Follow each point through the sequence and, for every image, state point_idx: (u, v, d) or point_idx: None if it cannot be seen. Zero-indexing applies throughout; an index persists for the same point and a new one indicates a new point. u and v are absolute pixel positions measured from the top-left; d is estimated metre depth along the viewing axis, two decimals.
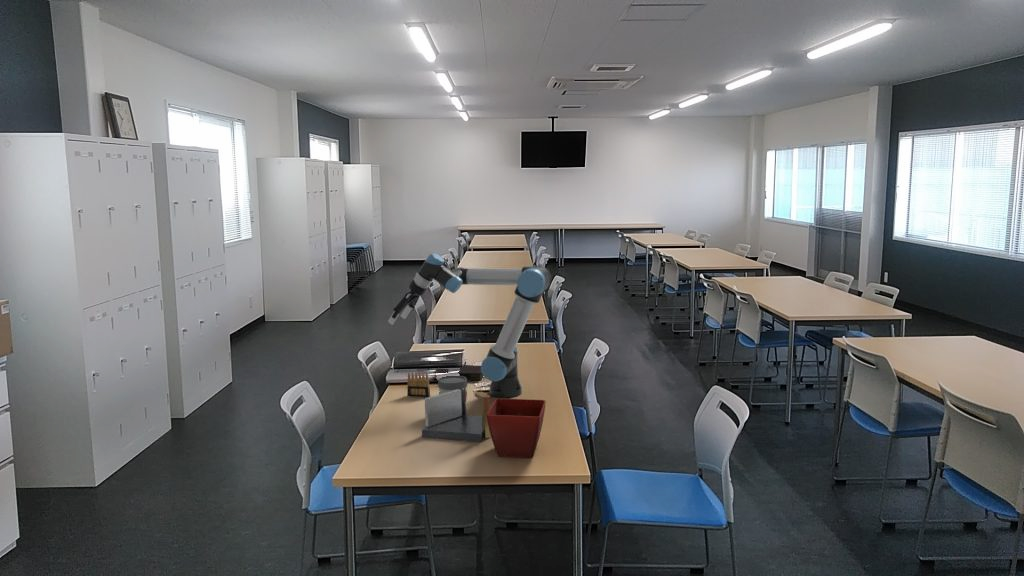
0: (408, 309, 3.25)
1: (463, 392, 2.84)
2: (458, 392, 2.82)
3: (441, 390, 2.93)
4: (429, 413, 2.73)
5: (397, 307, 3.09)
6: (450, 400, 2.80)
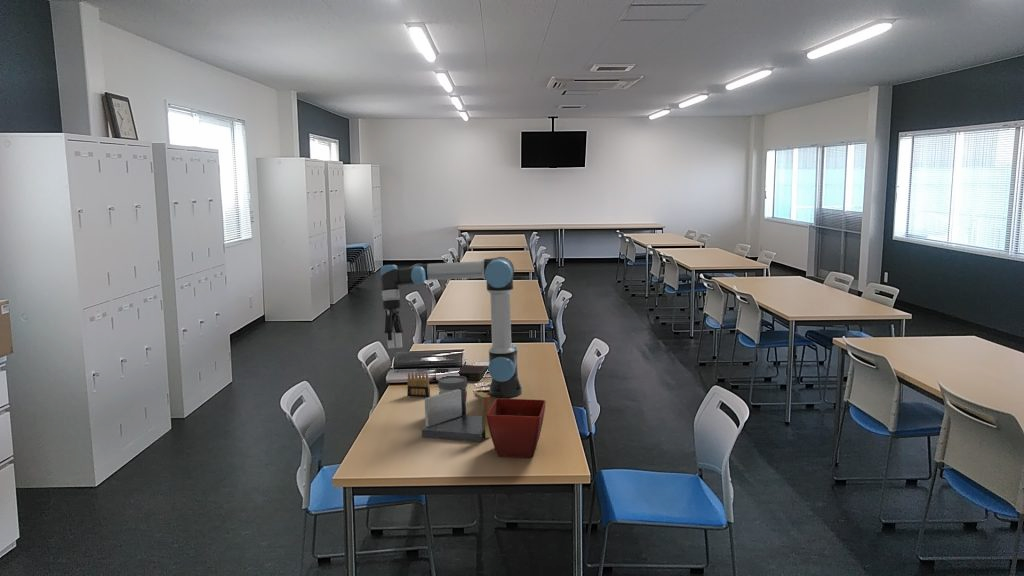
0: (398, 336, 3.13)
1: (463, 392, 2.84)
2: (458, 392, 2.82)
3: (441, 390, 2.93)
4: (429, 413, 2.73)
5: (386, 326, 2.97)
6: (450, 400, 2.80)
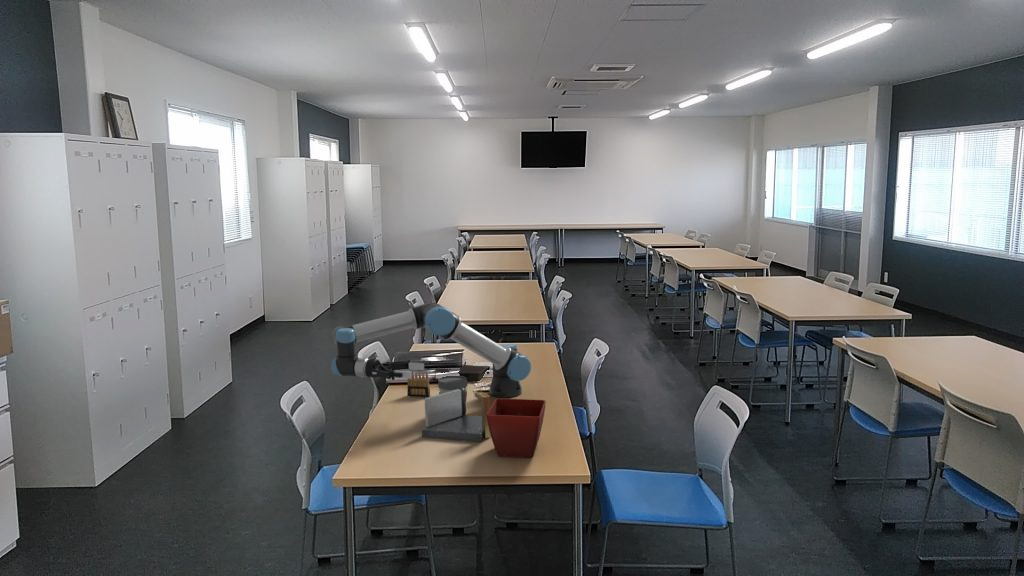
0: (411, 365, 2.84)
1: (463, 392, 2.84)
2: (458, 392, 2.82)
3: (441, 390, 2.93)
4: (429, 413, 2.73)
5: (385, 376, 2.70)
6: (450, 400, 2.80)
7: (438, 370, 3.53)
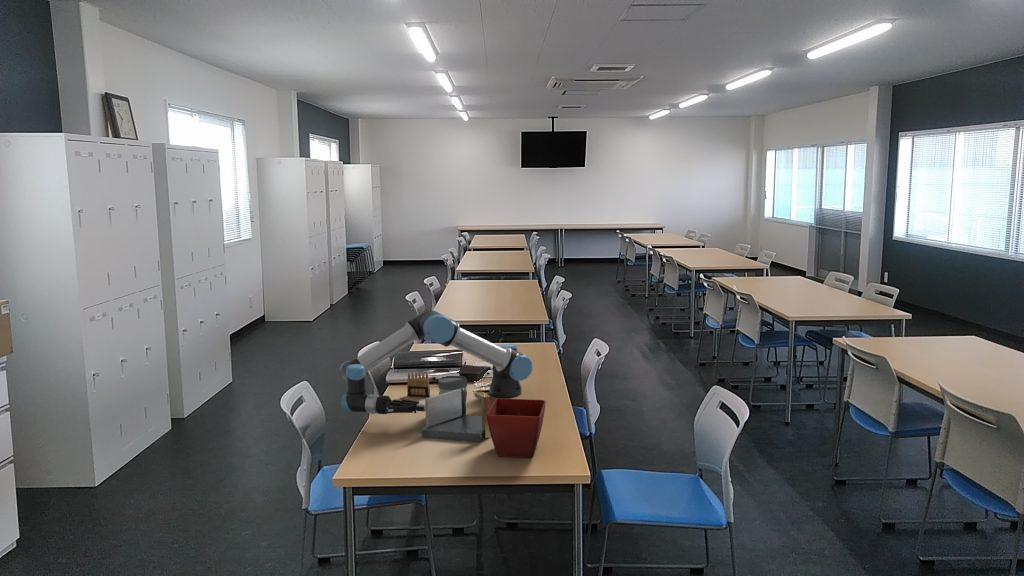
0: None
1: (463, 392, 2.84)
2: (458, 392, 2.82)
3: (441, 390, 2.93)
4: (429, 414, 2.72)
5: (407, 411, 2.75)
6: (450, 400, 2.80)
7: (438, 370, 3.54)
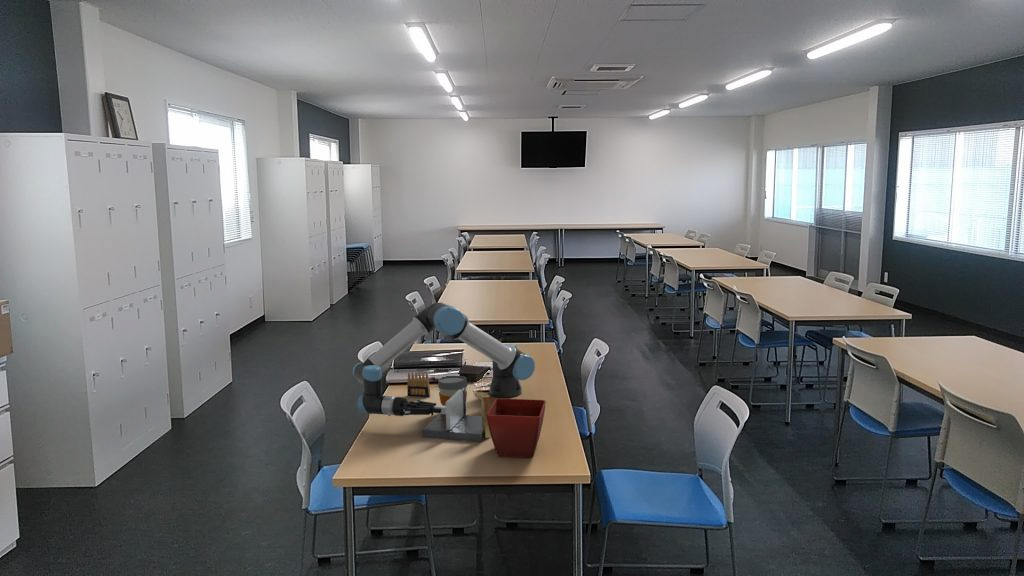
0: None
1: (464, 392, 2.84)
2: (462, 392, 2.82)
3: (441, 390, 2.93)
4: (450, 417, 2.68)
5: (424, 412, 2.72)
6: (458, 401, 2.78)
7: (438, 370, 3.54)
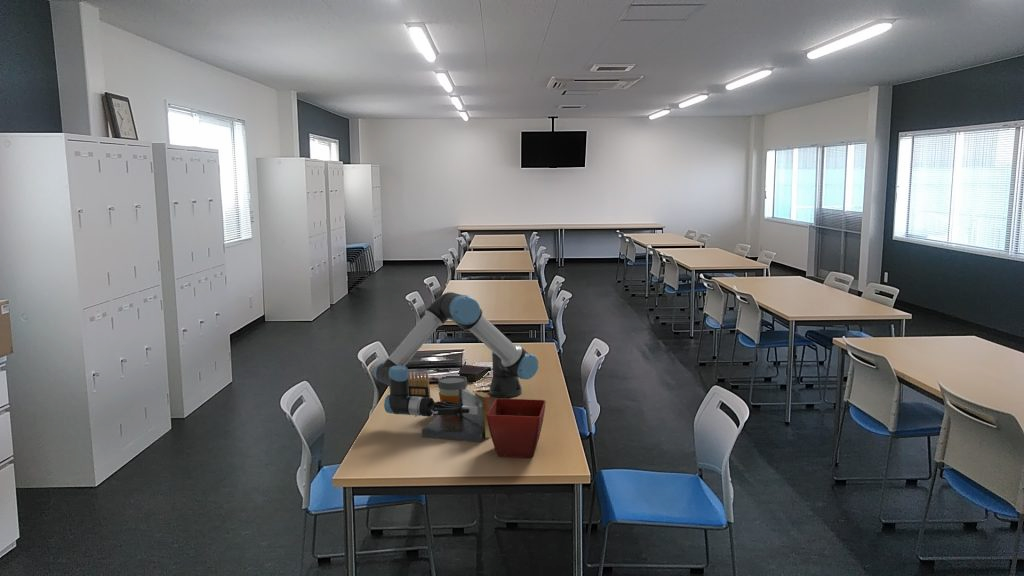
0: None
1: None
2: None
3: (441, 390, 2.93)
4: None
5: (452, 413, 2.70)
6: None
7: (438, 369, 3.55)
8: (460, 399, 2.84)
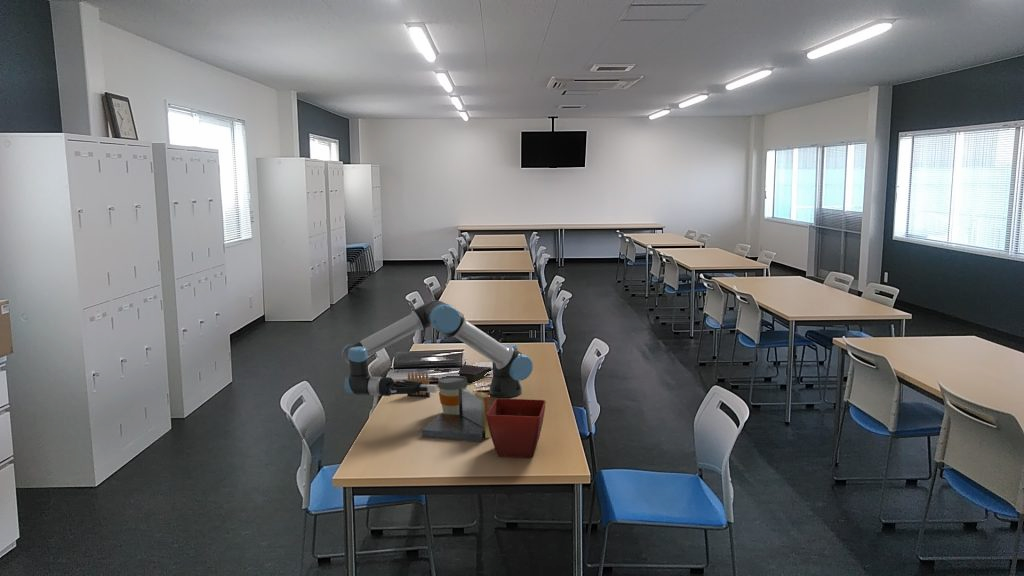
0: None
1: None
2: None
3: (441, 390, 2.93)
4: None
5: (411, 391, 2.74)
6: None
7: (438, 369, 3.55)
8: (460, 399, 2.84)
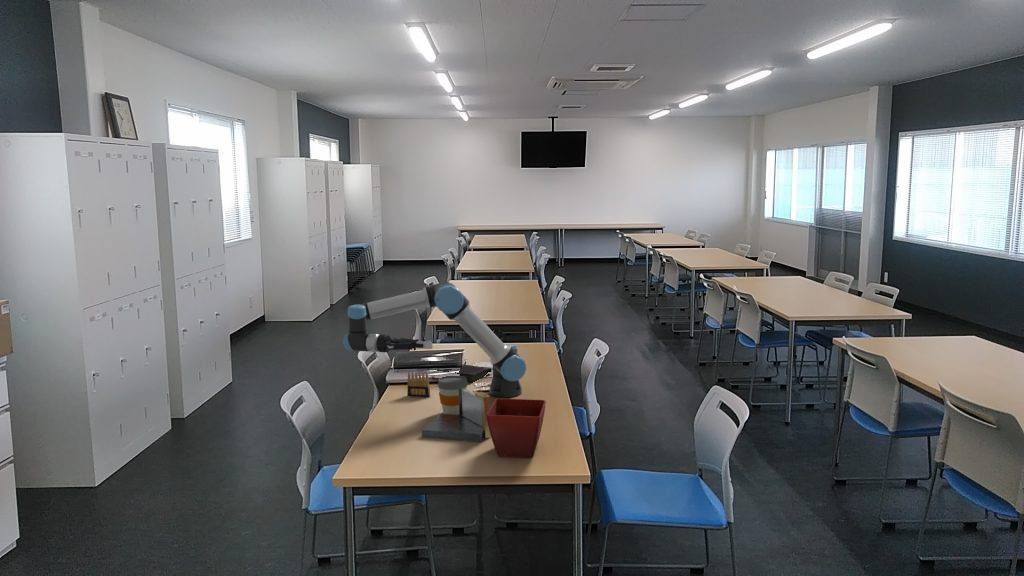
0: None
1: None
2: None
3: (441, 390, 2.93)
4: None
5: (407, 347, 2.84)
6: None
7: (438, 369, 3.56)
8: (460, 399, 2.84)
